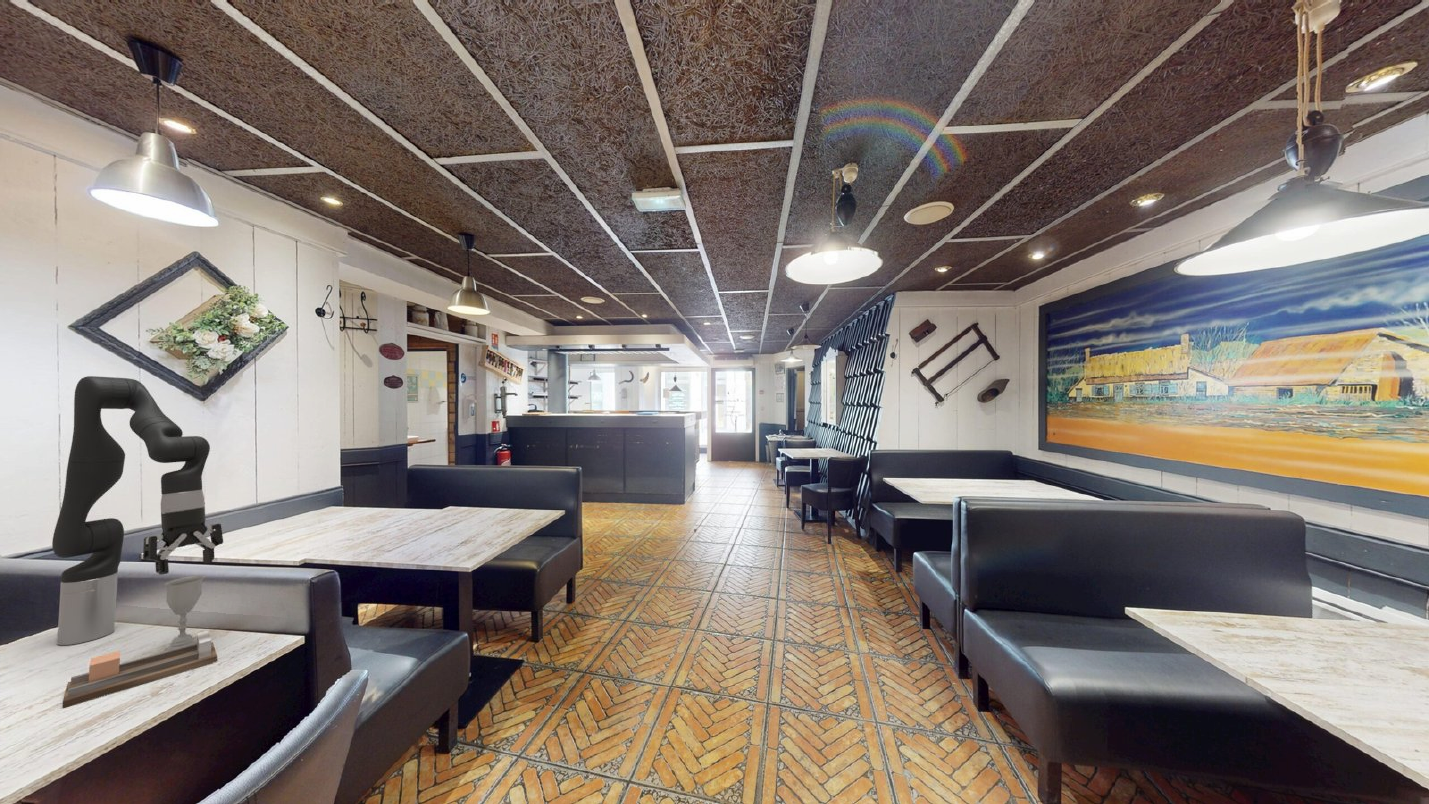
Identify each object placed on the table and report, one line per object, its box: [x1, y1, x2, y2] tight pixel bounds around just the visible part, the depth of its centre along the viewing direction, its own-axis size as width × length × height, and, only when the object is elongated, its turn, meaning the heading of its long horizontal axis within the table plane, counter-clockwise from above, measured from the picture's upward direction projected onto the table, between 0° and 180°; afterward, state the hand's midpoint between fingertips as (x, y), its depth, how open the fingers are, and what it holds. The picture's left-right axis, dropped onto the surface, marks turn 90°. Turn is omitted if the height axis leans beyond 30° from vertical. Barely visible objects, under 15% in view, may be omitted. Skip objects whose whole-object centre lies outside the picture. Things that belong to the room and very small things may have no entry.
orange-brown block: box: [88, 650, 121, 683], centre depth 100 cm, size 5×4×5 cm
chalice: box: [163, 574, 206, 651], centre depth 118 cm, size 7×7×18 cm
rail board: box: [62, 630, 218, 709], centre depth 105 cm, size 11×22×6 cm, turn 144°
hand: (186, 568), depth 115 cm, fingers open, 8 cm apart
